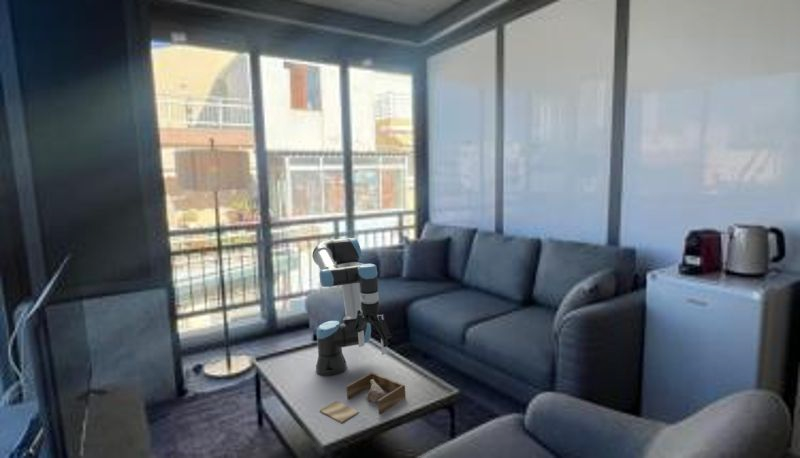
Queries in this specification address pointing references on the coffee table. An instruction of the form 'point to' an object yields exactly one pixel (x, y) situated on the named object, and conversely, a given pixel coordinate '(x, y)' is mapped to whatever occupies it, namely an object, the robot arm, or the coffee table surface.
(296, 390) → the coffee table surface
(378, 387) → the mineral specimen
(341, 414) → the mat
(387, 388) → the brown open u-shaped frame
